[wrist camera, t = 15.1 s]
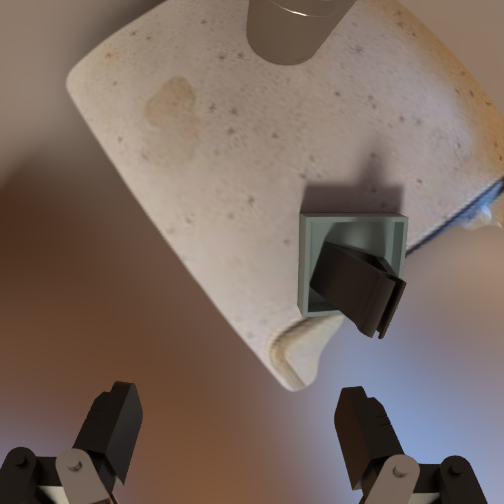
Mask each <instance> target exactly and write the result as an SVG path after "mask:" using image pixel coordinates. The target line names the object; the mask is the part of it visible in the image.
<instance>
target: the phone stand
mask: <svg viewBox="0 0 504 504" xmlns="http://www.w3.org/2000/svg"><path fill="white" fill-rule="evenodd" d="M405 286H406V282H405V281H403V280H402V279H400V278H399V277H398V276H397V275H396V274H395V272H394V271H393V269H392V268H391V266H390V265H389V263H388V262H387V260H386V259H384V258H382V257H378V256H375V255H372V254H368V253H365V252H361V251H358V250H354V249H351V248H347V247H344V246H340V245H337V244H333V243H330V242H326V241H324V244H323V248H322V251H321V254H320V257H319V260H318V263H317V266H316V269H315V271H314V274H313V277H312V280H311V283H310V287H311V288H312V289H313V290H315V291H316V292H317V293H318V294H319V295H321V296H322V297H323V298H324V299H326V300H327V301H328V302H329V303H331V304H332V305H333V306H334V307H336V308H337V309H338V310H339V311H340V312H342V313H343V314H344V315H345V316H347V317H348V318H349V319H350V320H351V321H353V322H354V323H355V324H356V326H357V328H358V330H359V331H360V332H361V333H363V334H364V335H366V336H368V337H371V338H372V337H373V335H374V333H375V330H377V331H378V332H379V333H380V334H379V336H378V338H379V339H382V338H383V337H384V335H385V333H386V331H387V328H388V326H389V323H390V322H391V319H392V317H393V315H394V313H395V310H396V308H397V306H398V303H399V301H400V298H401V296H402V294H403V291H404V289H405Z"/></svg>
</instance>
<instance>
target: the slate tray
mask: <svg viewBox="0 0 504 504" xmlns="http://www.w3.org/2000/svg"><path fill="white" fill-rule="evenodd" d="M407 230H408V217H406V216H404V215H401V214H398V213H379V212H309V213H300V217H299V272H298V303H297V305H298V308H299V310H300V312H301V315H302V317H313V316H326V315H339V314H343V313H342V312H340V311H339V310H338V309H337V308H336V307H334V306H333V305H332V304H331V303H329V302H328V301H327V300H326V299H324V298H323V297H322V296H321V295H319V294H318V293H317V292H316V291H315V290H313V289H312V288H311V287H310V283H311V280H312V277H313V274H314V271H315V269H316V266H317V263H318V260H319V257H320V254H321V251H322V248H323V244H324V241H326V242H330V243H333V244H337V245H340V246H344V247H347V248H351V249H354V250H358V251H361V252H365V253H368V254H372V255H375V256H378V257H382V258H384V259H386V260H387V262H388V263H389V265H390V266H391V268H392V269H393V271H394V272H395V274H396V275H397V276H398V277H399V278H400V279H402V277H403V269H404V261H405V251H406V241H407ZM398 304H399V303H398ZM396 309H398V306H397V308H396Z"/></svg>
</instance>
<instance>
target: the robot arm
mask: <svg viewBox="0 0 504 504" xmlns="http://www.w3.org/2000/svg"><path fill="white" fill-rule="evenodd" d="M356 1H357V0H249V10H248V19H247V39H248V42H249V44H250V46H251V48H252V49H253V50H254V51H255V52H256V54H258V55H259V56H260V57H262V58H263V59H265V60H267V61H269V62H272V63H275V64H279V65H295V64H299V63H302V62H304V61H307V60H308V59H309V58H311V57H312V56H313V55H314V54H315V53H316V51H317V50H318V49H319V47H320V46H321V45H322V44H323V42H324V41H325V40H326V39H327V37H328V36H329V35H330V33H331V32H332V31H333V30H334V28H335V27H336V26H337V24H338V23H339V22H340V21H341V19H342V18H343V17H344V16H345V14H346V13H347V12H348V11H349V9H350V8H351V7H352V6H353V4H354V3H355V2H356ZM142 419H143V411H142V406H141V403H140V399H139V396H138V392H137V388H136V385H135V384H134V383H128V382H121V381H116V382H115V383H114V385H113V387H112V389H111V391H110V392H103V393H101V394H100V395H99V396H98V397H97V398H96V399H95V400H94V402H93V404H92V406H91V409H90V411H89V413H88V415H87V419H85V421H84V423H83V426H82V428H81V430H80V432H79V434H78V436H77V439H76V441H75V443H74V445H73V447H72V448H71V449H67V450H65V451H63V452H61V453H60V454H59V456H58V457H37V456H35V454H34V453H33V452H32V451H31V450H30V449H28V448H25V447H17V448H14V449H12V450H11V451H10V452H9V453H8V454H7V456H6V459H5V460H4V463H3V465H2V467H1V469H0V504H118V502H117V500H116V498H115V496H114V494H113V492H112V491H113V487H114V484H117V485H121V486H123V485H124V483H125V479H126V476H127V472H128V468H129V465H130V461H131V458H132V454H133V451H134V447H135V444H136V440H137V437H138V433H139V430H140V427H141V424H142ZM334 424H335V429H336V432H337V436H338V439H339V443H340V446H341V450H342V453H343V457H344V460H345V464H346V468H347V471H348V475H349V479H350V483H351V487H352V490H358V489H362V492H363V496H362V498H361V500H360V502H359V504H487V501H486V499H485V496H484V494H483V492H482V489H481V487H480V485H479V483H478V480H477V478H476V476H475V474H474V471H473V469H472V467H471V465H470V463H469V462H468V461H467V460H466V459H465V458H463V457H461V456H456V455H455V456H450V457H447V458H445V459H444V461H443V462H442V463H441V464H419V463H417V461H416V460H415V459H413V458H411V457H410V456H407V455H405V454H404V452H403V450H402V447H401V445H400V443H399V440H398V438H397V436H396V434H395V431H394V429H393V427H392V425H391V423H390V420H389V418H388V417H387V414H386V412H385V409H384V407H383V405H382V404H381V403H380V402H379V401H378V400H377V399H375V398H374V397H371V398H367V396H366V393H365V391H364V389H363V387H362V386H357V387H347V388H343V389H342V391H341V394H340V397H339V401H338V404H337V408H336V411H335V415H334Z"/></svg>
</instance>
